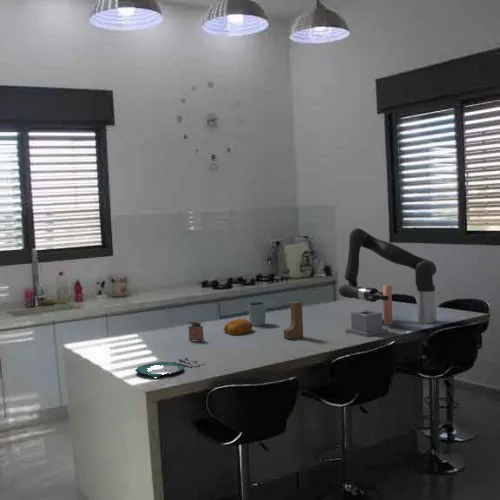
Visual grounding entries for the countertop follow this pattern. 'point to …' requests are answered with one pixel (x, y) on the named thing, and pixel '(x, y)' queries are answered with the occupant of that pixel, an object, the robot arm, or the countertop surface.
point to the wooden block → (295, 321)
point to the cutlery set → (143, 369)
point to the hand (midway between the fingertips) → (391, 297)
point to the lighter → (195, 331)
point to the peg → (387, 304)
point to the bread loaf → (238, 326)
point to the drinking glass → (257, 313)
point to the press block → (366, 323)
